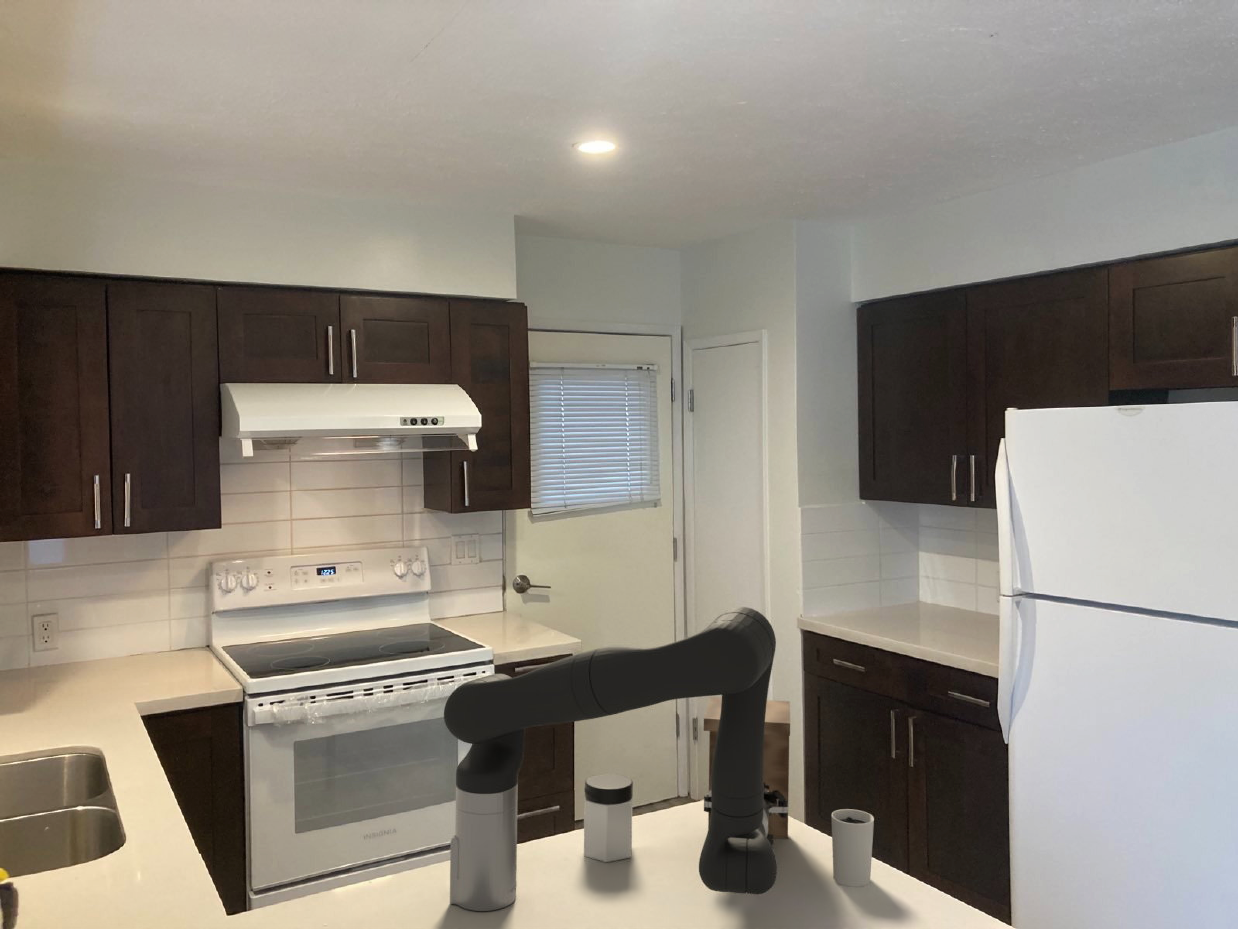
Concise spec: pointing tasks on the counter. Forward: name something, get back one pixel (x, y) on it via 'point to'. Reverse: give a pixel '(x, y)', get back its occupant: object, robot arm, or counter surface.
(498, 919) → the counter surface
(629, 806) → the jar
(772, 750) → the shelf
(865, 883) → the white cup
